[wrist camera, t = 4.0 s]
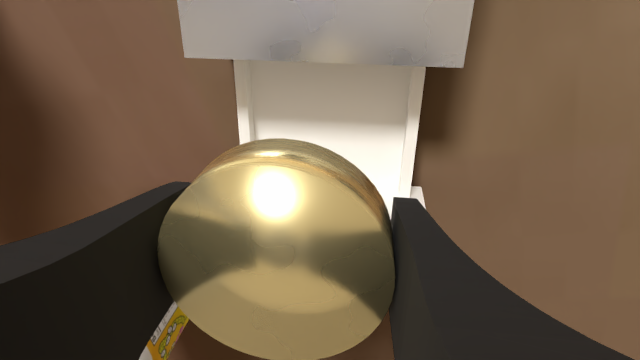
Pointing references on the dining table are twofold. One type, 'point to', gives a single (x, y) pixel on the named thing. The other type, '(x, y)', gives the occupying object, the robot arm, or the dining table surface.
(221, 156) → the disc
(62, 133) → the dining table surface
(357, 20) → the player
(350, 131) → the tray
